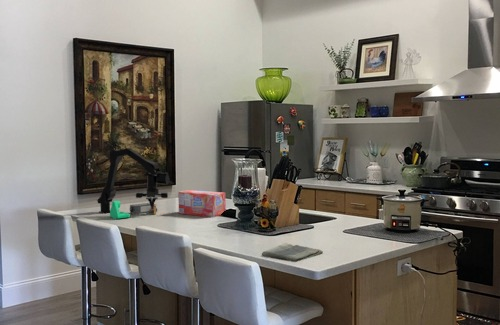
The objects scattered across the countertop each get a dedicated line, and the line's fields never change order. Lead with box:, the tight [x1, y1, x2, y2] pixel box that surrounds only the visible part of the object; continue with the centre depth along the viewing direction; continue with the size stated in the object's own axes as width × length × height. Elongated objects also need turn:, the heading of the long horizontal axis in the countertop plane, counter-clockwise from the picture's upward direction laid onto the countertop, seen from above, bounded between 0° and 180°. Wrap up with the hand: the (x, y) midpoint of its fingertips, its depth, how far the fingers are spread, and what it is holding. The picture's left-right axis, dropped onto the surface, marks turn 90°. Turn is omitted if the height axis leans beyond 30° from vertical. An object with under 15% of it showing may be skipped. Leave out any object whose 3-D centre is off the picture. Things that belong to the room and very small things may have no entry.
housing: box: [129, 202, 154, 215], centre depth 347 cm, size 7×14×5 cm, turn 125°
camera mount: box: [109, 200, 131, 220], centre depth 329 cm, size 12×8×10 cm, turn 36°
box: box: [177, 189, 227, 218], centre depth 335 cm, size 27×13×14 cm, turn 55°
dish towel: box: [261, 242, 324, 263], centre depth 228 cm, size 19×18×3 cm
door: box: [153, 203, 158, 215], centre depth 343 cm, size 2×11×5 cm, turn 9°
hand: (152, 209), depth 341 cm, fingers closed
